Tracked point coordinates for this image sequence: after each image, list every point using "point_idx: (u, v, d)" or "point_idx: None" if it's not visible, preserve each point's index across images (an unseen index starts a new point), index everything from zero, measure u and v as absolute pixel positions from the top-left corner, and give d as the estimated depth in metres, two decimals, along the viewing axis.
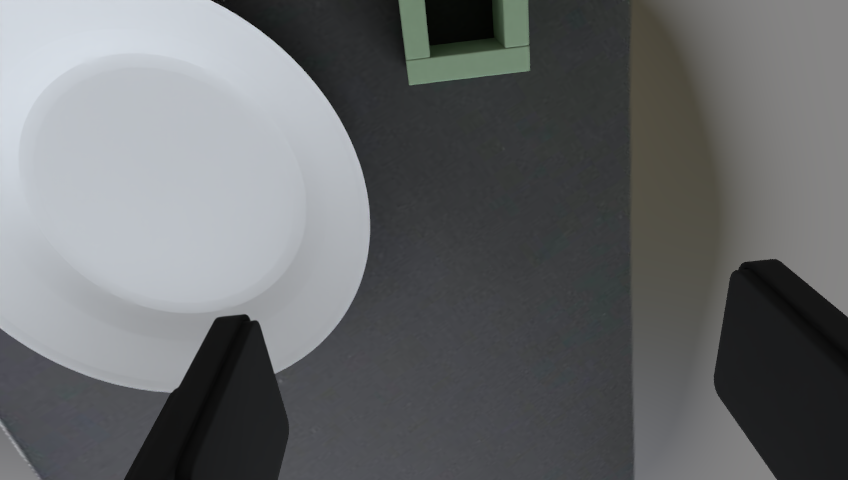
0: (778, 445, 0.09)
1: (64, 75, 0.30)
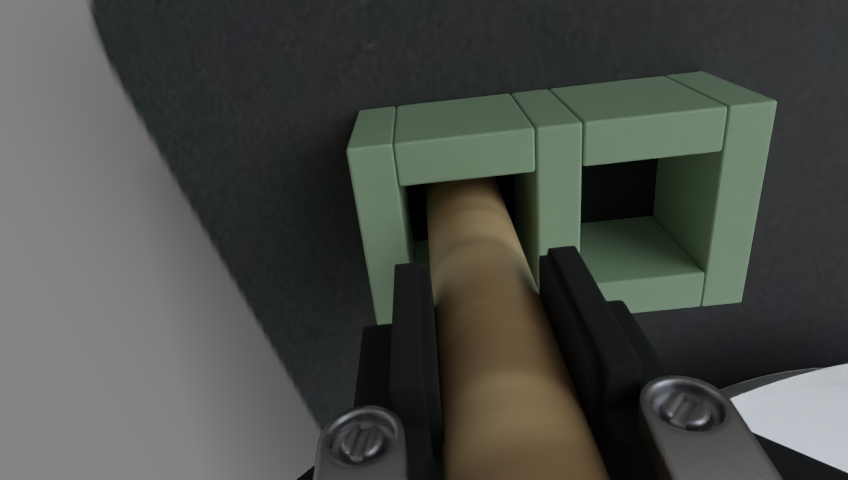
0: None
1: None
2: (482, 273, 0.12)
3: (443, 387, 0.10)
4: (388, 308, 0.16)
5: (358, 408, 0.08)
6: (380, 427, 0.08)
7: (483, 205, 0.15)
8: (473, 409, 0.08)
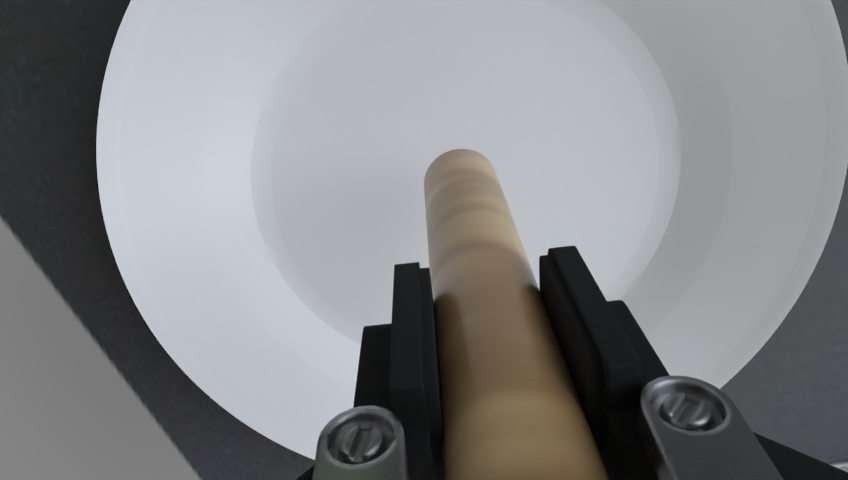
0: None
1: (293, 287, 0.24)
2: (484, 282, 0.11)
3: (443, 406, 0.09)
4: None
5: (357, 408, 0.08)
6: (379, 427, 0.08)
7: (483, 205, 0.14)
8: (474, 434, 0.08)
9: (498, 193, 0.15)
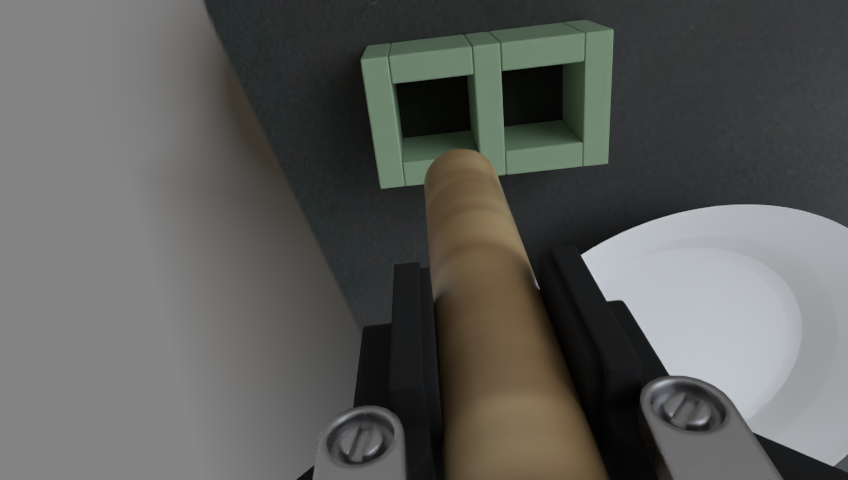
0: None
1: None
2: (484, 281, 0.11)
3: (444, 406, 0.09)
4: (385, 166, 0.26)
5: (358, 408, 0.08)
6: (380, 427, 0.08)
7: (484, 205, 0.14)
8: (475, 435, 0.08)
9: (499, 193, 0.15)
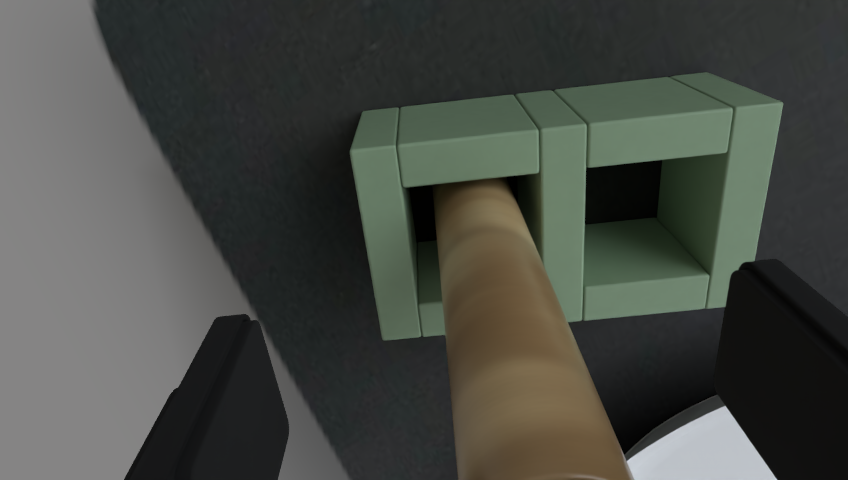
0: (778, 445, 0.09)
1: None
2: (492, 261, 0.11)
3: (454, 376, 0.09)
4: (391, 310, 0.16)
5: None
6: None
7: (491, 195, 0.14)
8: (486, 397, 0.08)
9: (505, 185, 0.16)
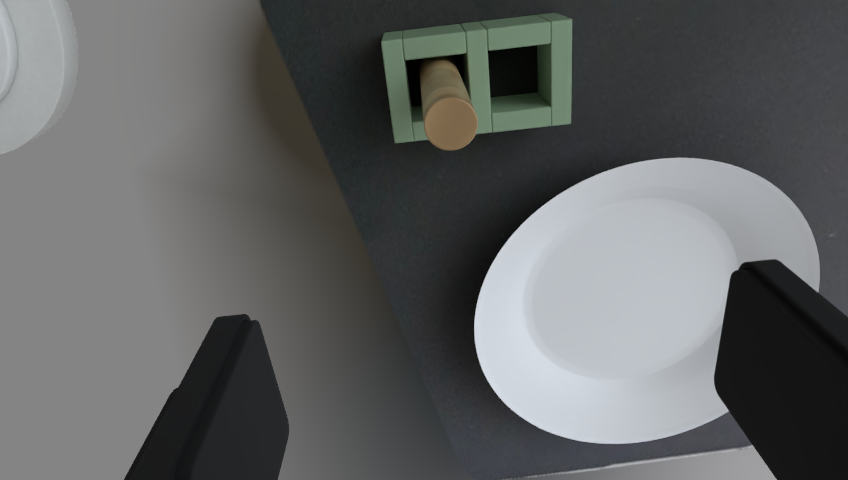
0: (778, 445, 0.09)
1: (532, 339, 0.46)
2: (440, 74, 0.29)
3: (423, 101, 0.27)
4: (399, 125, 0.34)
5: None
6: None
7: (444, 62, 0.32)
8: (432, 95, 0.26)
9: (453, 63, 0.33)
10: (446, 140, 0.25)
